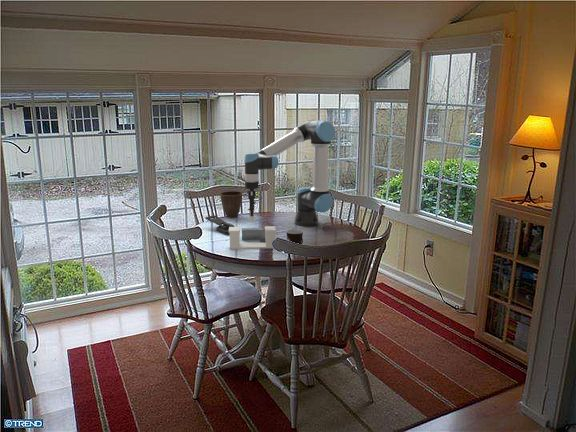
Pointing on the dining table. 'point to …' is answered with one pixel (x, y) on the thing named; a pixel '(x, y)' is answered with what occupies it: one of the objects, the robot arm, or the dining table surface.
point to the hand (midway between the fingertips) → (251, 218)
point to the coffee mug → (295, 236)
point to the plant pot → (231, 203)
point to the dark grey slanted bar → (220, 224)
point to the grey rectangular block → (252, 233)
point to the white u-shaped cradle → (237, 245)
